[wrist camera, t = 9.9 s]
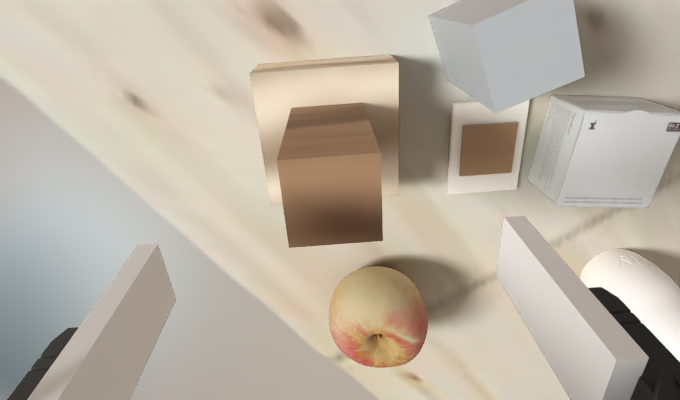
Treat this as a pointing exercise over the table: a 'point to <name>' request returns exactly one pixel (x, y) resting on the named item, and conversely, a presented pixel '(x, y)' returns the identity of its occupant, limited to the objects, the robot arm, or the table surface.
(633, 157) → the small box
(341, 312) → the apple
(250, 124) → the table surface
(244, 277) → the table surface
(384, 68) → the birch base
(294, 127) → the walnut pillar
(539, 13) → the slate pillar
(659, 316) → the figurine
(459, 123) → the tile
